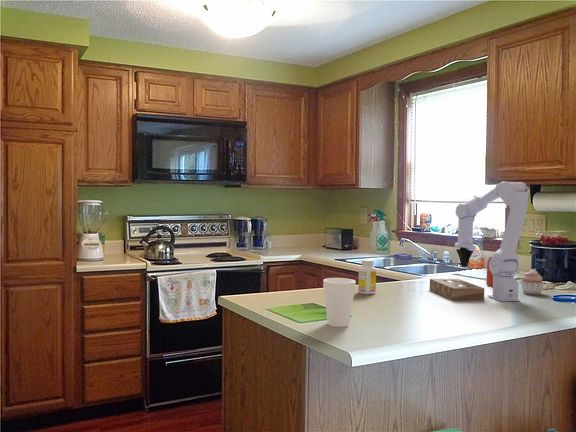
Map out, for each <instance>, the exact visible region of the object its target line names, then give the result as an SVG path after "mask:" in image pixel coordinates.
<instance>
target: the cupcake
mask: <svg viewBox="0 0 576 432" xmlns="http://www.w3.org/2000/svg"><path fill="white" fill-rule="evenodd" d="M519 283H520V284H521V290H522V292H523V294H525V295H530V296H536V295H537V296H538V295H541V293H542V289H543V287H544V285H545V281H543V277H542V276H541V275H540V274H539V273H538V271H537V270H536V269H533V268H531V269H530V271H528V272H525V273H524V274H523V275H522V276H521V280H519Z"/></svg>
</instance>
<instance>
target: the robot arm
mask: <svg viewBox="0 0 576 432" xmlns="http://www.w3.org/2000/svg"><path fill="white" fill-rule="evenodd" d="M529 195H530V189H529V187H528V186H527V183H525V182H524V181H523V182H522V181H517V182H516V181H500V183H497V184H496V185H495V187H494V188H492V189H490V190H489V191H488V192H486V193H485V194H484V195H475V196H473V198H472V199H471V200H467V201H466V202H465V203H459V204H458V205H457V206H456V207H455V215H456V216H457V217H458V219H457V220H458V223H457V225H458V227H457V242H454V248H457V249H456V250H455V251H456V253H457V256H458V257H459V262H460V267H462V268H465V267H468V265H469V262H470V258H471V256H472V255H473V253H474V252H475V251H476V250H477V249H476V245H474V244H473V233H474V230H473V229H474V222H475V218H476V216H477V214H478V213H480V212H482V211H483V210H485V209H486V208H487V207H488V204H489V203H492V202H493V201H495V200H497V199H499V198H500V199H501V200H502V201H503V203H504V204H505V205H507V206H508V207H509V212H508V213H509V214H508V217H507V220H506V223H505V224H506V225H505V227H504V232H503V236H502V240H501V242H500V247H499V249H497V250H496V251H495V252H494V253H493V254H492V256H491V257H492V259H491V260H490V262H489V269H490V271H491V273H492V275H493V287H492V294H487V297H488V298H492V299H494V300H497V301H499V302H521V300H520V299H519V282H518V280H517V279H516V278H515V276H516V273H517V272H518V270H519V267H520V264H519V261H520V255H518V254H517V252H516V251H517V248H518V247H517V246H518V244H519V241H520V237H521V233H522V229H523V226H524V223H525V218H526V215H527V212H528V207H529V206H528V198H529Z"/></svg>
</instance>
